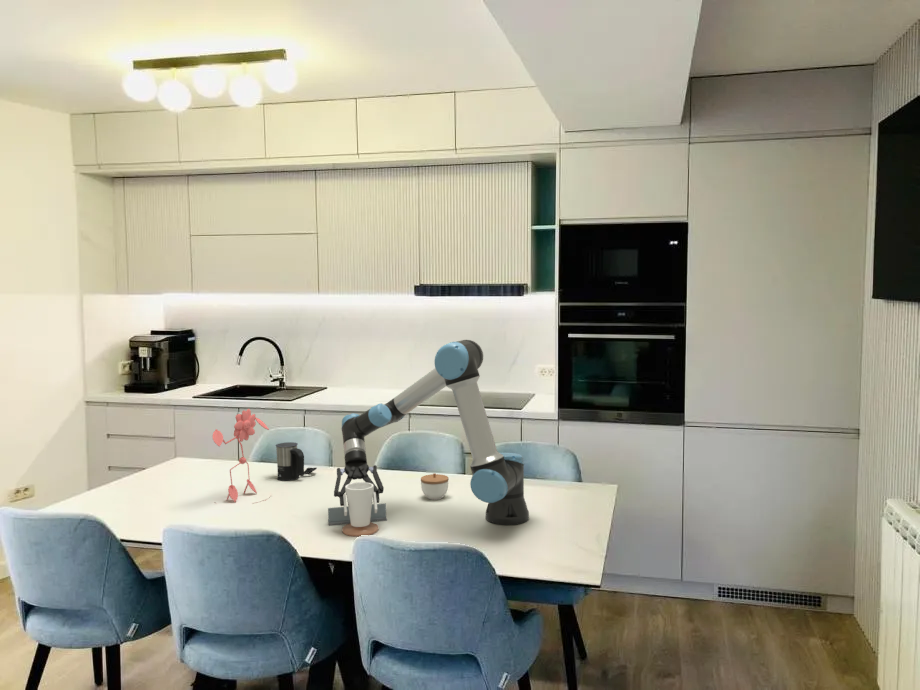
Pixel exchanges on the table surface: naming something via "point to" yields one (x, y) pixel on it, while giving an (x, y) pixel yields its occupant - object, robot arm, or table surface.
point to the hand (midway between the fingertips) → (361, 512)
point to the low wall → (338, 516)
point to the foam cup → (359, 502)
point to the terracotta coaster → (360, 530)
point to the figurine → (243, 431)
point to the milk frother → (290, 462)
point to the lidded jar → (434, 486)
